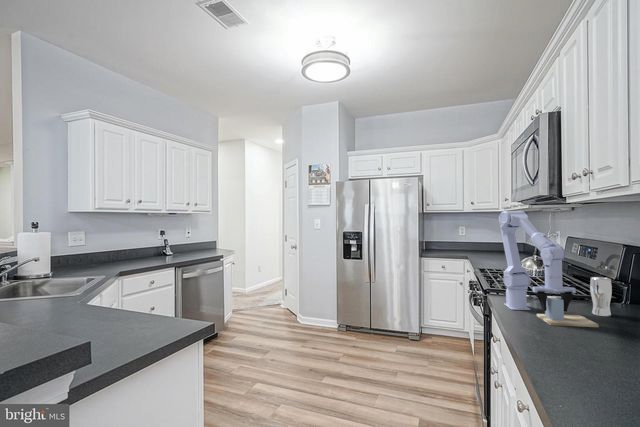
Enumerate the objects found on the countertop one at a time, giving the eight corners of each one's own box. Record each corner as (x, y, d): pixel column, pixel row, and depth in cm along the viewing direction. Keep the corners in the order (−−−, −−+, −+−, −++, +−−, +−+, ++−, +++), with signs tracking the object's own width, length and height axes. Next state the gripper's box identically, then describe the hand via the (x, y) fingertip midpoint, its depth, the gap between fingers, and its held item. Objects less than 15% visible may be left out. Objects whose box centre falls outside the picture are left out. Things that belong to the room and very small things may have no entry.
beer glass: (589, 311, 144) (588, 276, 144) (610, 313, 141) (609, 277, 141) (592, 315, 138) (591, 279, 138) (614, 317, 135) (613, 280, 135)
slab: (545, 315, 135) (544, 295, 136) (556, 316, 135) (555, 296, 135) (552, 320, 130) (551, 299, 130) (564, 320, 129) (563, 299, 129)
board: (536, 316, 139) (536, 313, 139) (580, 317, 136) (579, 315, 136) (550, 325, 127) (550, 322, 127) (598, 327, 124) (598, 324, 124)
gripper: (537, 277, 130) (538, 312, 129) (579, 278, 127) (580, 314, 127) (530, 274, 137) (530, 307, 136) (569, 275, 134) (570, 309, 134)
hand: (554, 310), depth 132 cm, fingers open, 7 cm apart
